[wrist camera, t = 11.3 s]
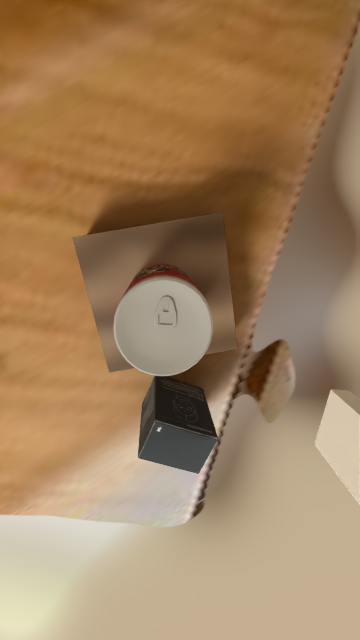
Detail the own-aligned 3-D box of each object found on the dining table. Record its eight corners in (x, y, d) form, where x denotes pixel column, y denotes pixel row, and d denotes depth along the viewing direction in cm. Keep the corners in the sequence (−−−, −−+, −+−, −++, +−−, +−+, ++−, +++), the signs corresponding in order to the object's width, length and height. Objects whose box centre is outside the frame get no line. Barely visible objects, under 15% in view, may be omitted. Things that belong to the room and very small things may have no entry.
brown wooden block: (84, 237, 33) (72, 237, 28) (213, 215, 33) (222, 211, 28) (115, 355, 38) (109, 372, 33) (227, 334, 38) (237, 348, 33)
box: (141, 403, 40) (136, 459, 30) (155, 372, 39) (154, 419, 29) (189, 418, 42) (199, 476, 32) (204, 388, 40) (219, 439, 30)
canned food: (187, 255, 29) (204, 266, 19) (201, 323, 32) (222, 365, 21) (119, 270, 29) (97, 289, 19) (138, 337, 32) (128, 387, 21)
